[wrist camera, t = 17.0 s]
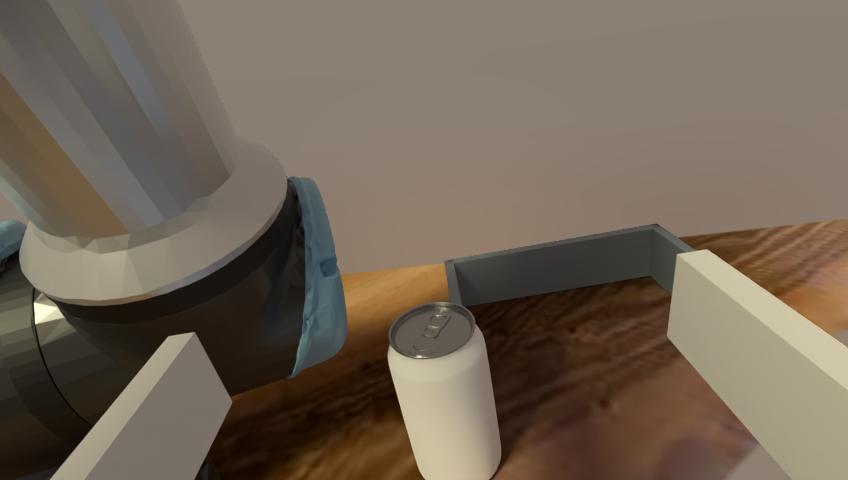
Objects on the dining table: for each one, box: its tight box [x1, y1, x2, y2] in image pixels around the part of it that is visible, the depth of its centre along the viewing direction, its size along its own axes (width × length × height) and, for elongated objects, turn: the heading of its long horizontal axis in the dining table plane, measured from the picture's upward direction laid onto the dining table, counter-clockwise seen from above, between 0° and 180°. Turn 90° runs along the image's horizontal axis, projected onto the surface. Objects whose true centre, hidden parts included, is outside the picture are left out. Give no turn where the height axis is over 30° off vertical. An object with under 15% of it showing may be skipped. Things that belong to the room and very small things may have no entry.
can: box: [388, 302, 501, 480], centre depth 28 cm, size 6×6×12 cm
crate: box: [444, 224, 696, 307], centre depth 40 cm, size 14×24×6 cm, turn 92°
